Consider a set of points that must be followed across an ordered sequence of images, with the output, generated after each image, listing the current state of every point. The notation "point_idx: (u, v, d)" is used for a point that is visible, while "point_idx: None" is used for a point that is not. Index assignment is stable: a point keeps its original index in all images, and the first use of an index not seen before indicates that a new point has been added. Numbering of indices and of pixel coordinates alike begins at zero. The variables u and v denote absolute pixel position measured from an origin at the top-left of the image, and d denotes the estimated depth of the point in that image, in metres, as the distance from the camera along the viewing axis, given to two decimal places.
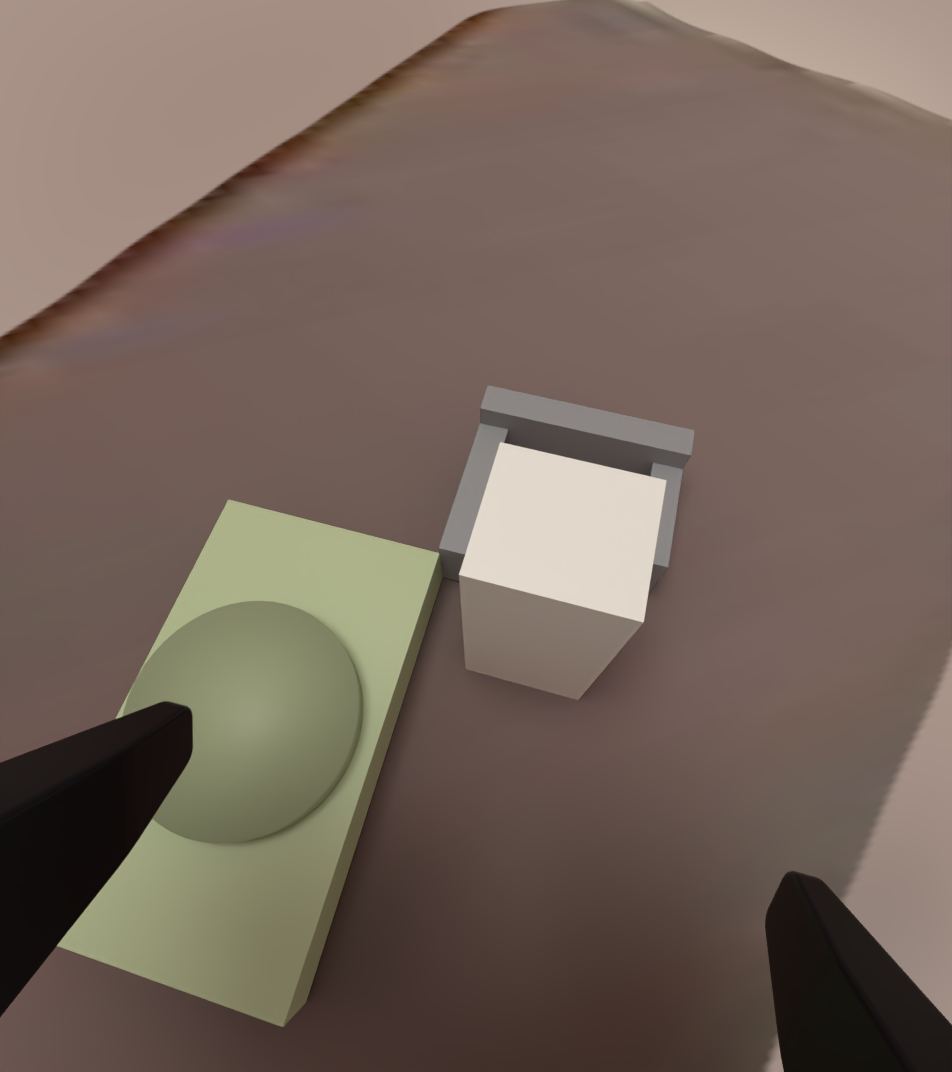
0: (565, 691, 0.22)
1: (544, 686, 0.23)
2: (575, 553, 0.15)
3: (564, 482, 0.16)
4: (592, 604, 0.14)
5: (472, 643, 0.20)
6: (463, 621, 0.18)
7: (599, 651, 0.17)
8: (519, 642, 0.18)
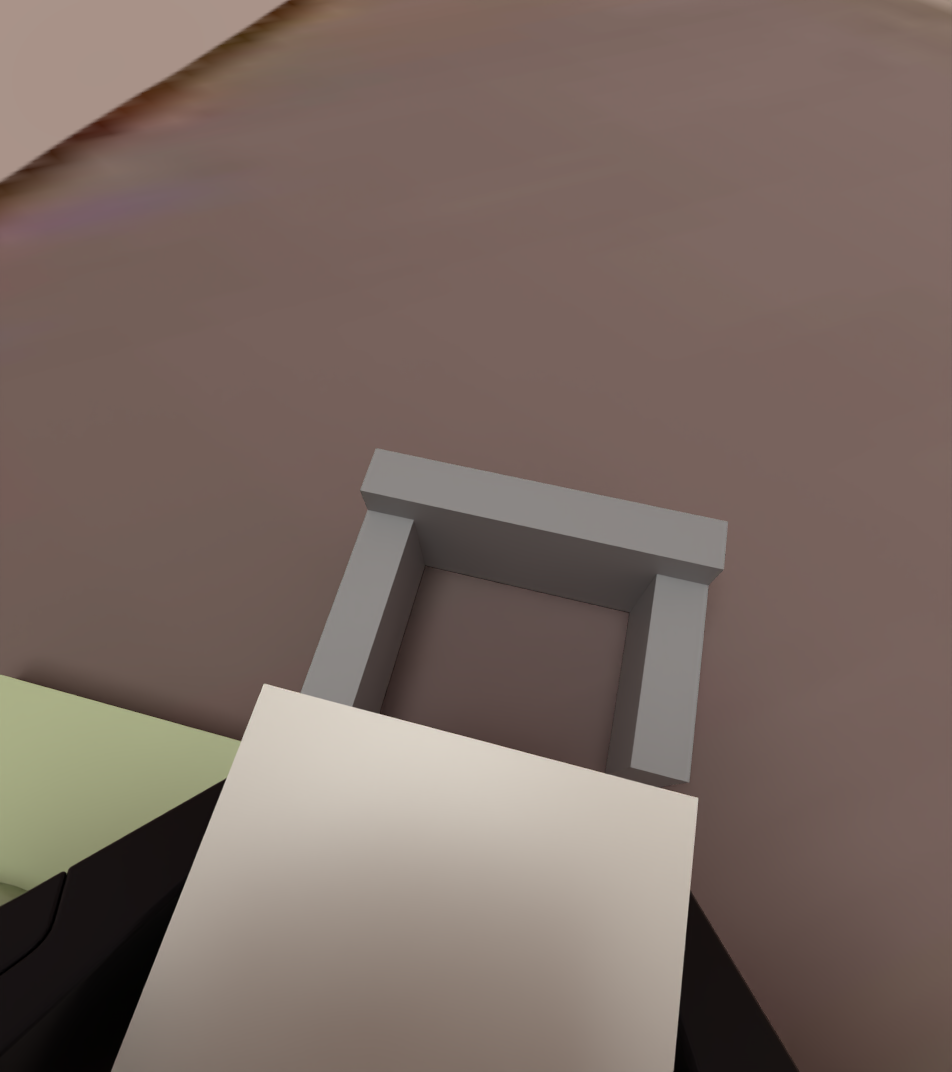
0: None
1: None
2: None
3: (420, 813, 0.06)
4: None
5: None
6: None
7: None
8: None
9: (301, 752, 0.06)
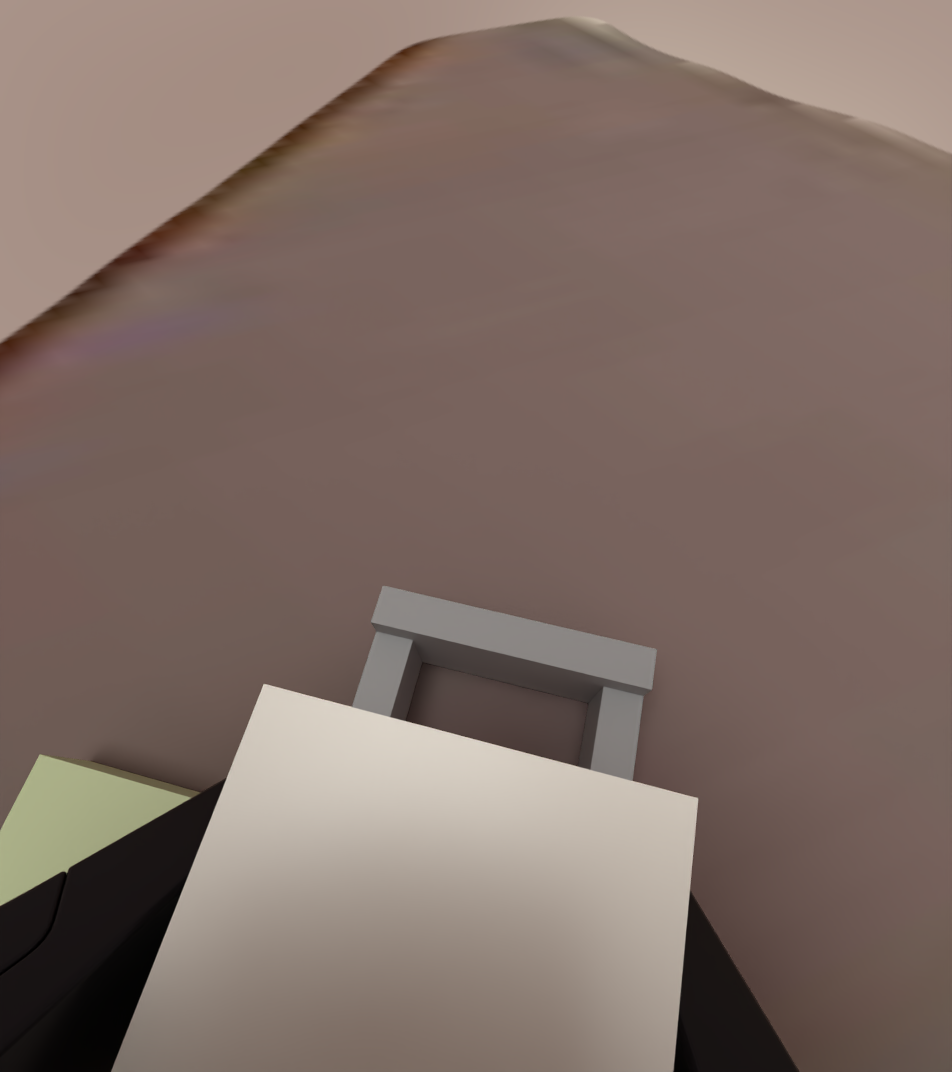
0: None
1: None
2: None
3: (419, 813, 0.06)
4: None
5: None
6: None
7: None
8: None
9: (301, 752, 0.06)
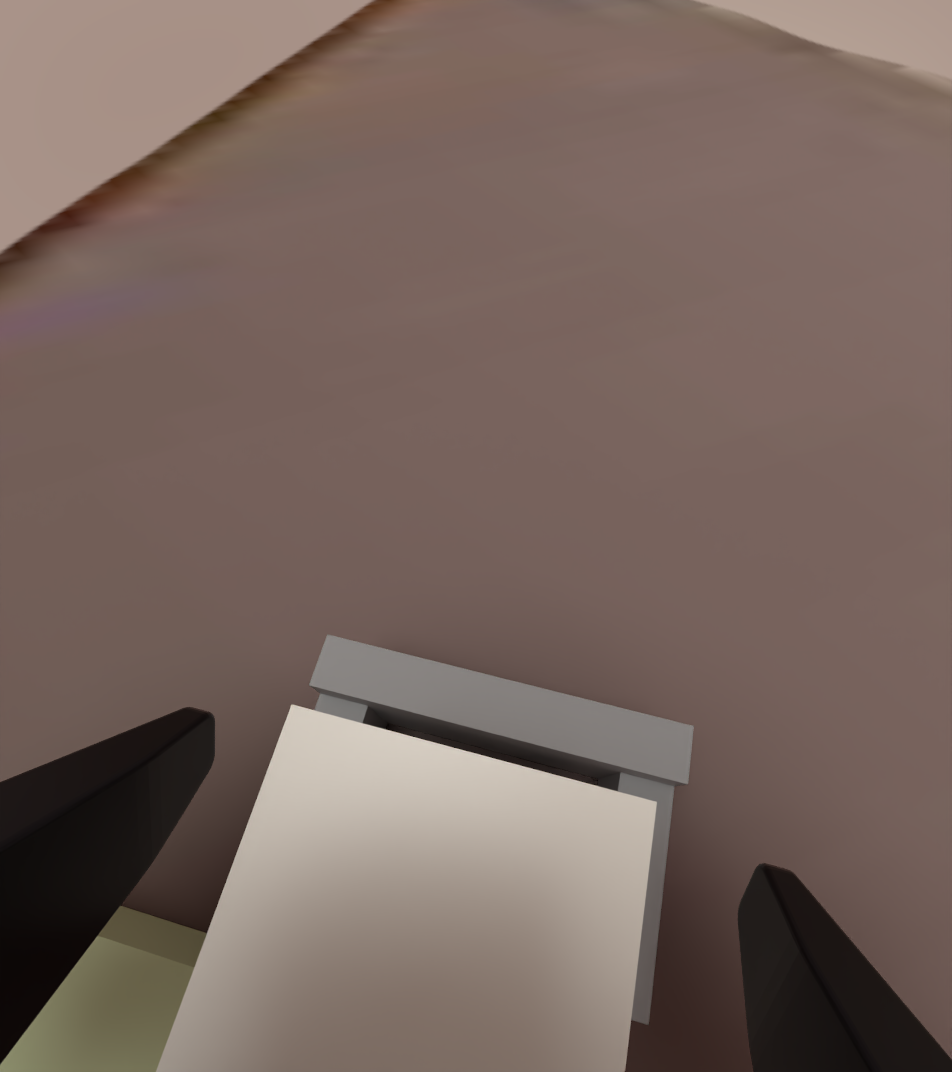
0: None
1: None
2: (436, 1035, 0.06)
3: (423, 814, 0.07)
4: None
5: None
6: None
7: None
8: None
9: (324, 763, 0.07)
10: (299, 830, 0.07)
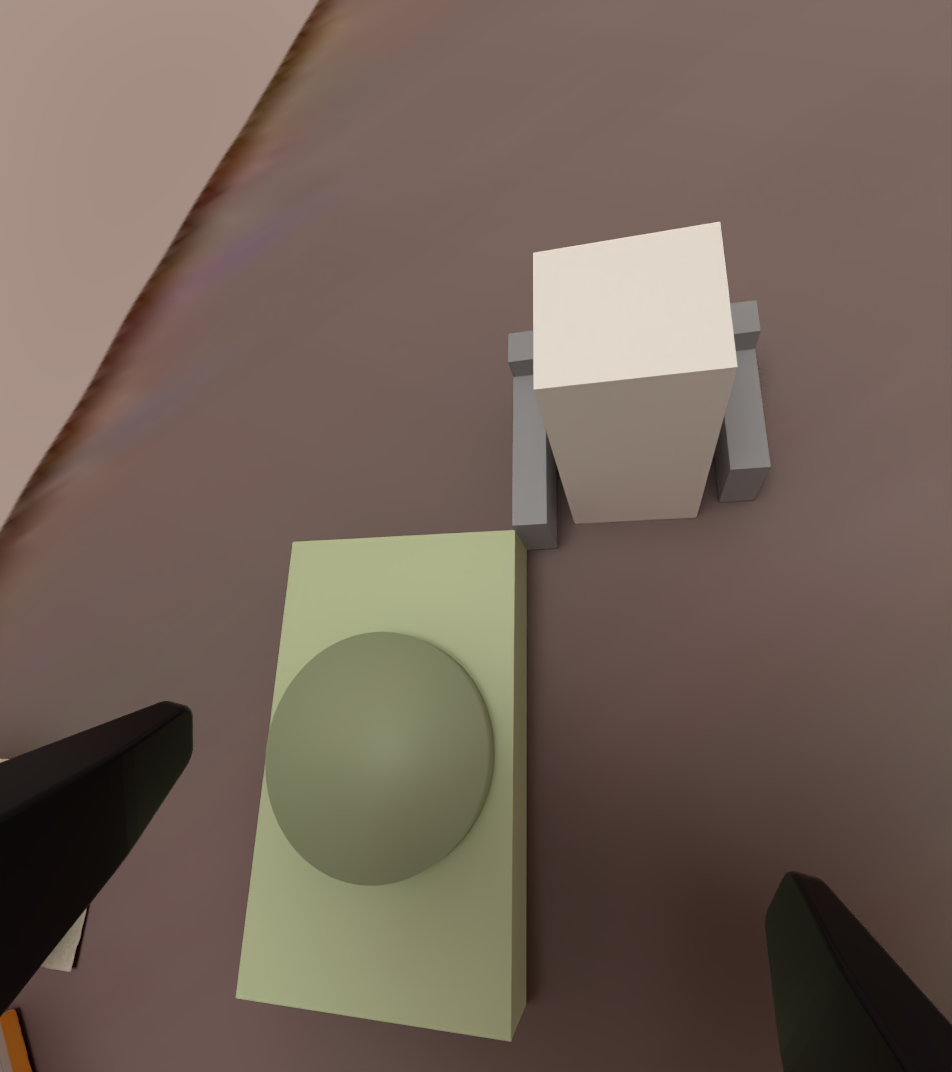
0: (680, 510, 0.22)
1: (658, 512, 0.22)
2: (645, 328, 0.14)
3: (611, 265, 0.15)
4: (677, 369, 0.13)
5: (572, 483, 0.20)
6: (555, 456, 0.18)
7: (701, 434, 0.16)
8: (616, 459, 0.18)
9: (558, 266, 0.15)
10: (557, 291, 0.15)
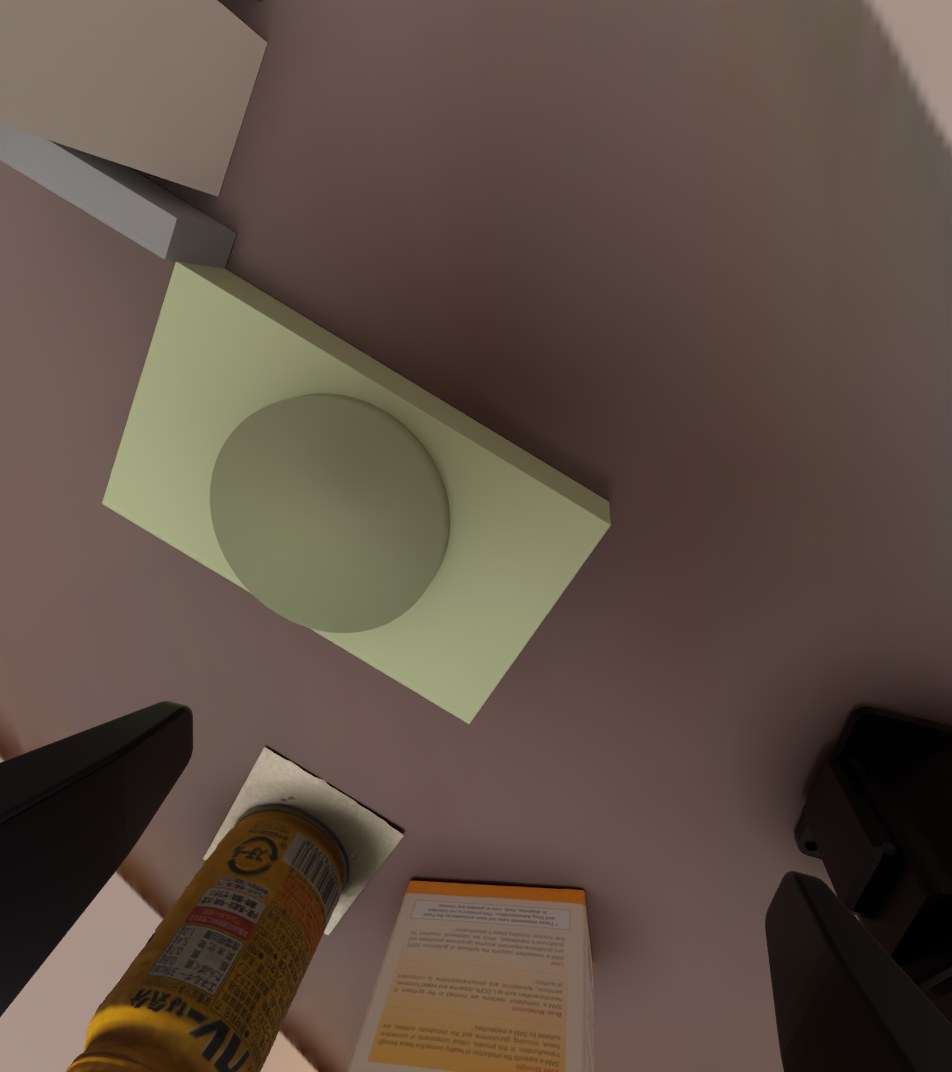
0: (244, 53, 0.17)
1: (237, 84, 0.17)
2: None
3: None
4: None
5: (129, 153, 0.15)
6: (55, 140, 0.13)
7: None
8: (94, 66, 0.13)
9: None
10: None
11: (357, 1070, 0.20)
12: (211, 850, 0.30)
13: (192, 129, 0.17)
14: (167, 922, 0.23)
